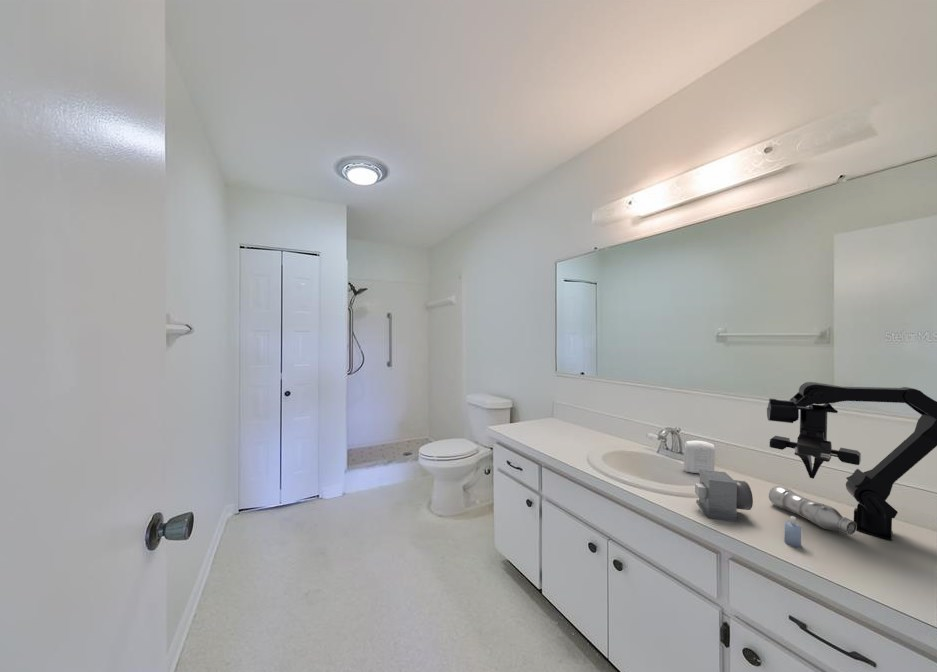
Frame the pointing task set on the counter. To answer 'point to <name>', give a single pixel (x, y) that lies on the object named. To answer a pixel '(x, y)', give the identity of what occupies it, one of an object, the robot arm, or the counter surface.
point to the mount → (719, 496)
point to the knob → (742, 494)
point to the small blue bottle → (792, 533)
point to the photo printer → (698, 456)
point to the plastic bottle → (811, 510)
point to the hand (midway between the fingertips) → (812, 478)
